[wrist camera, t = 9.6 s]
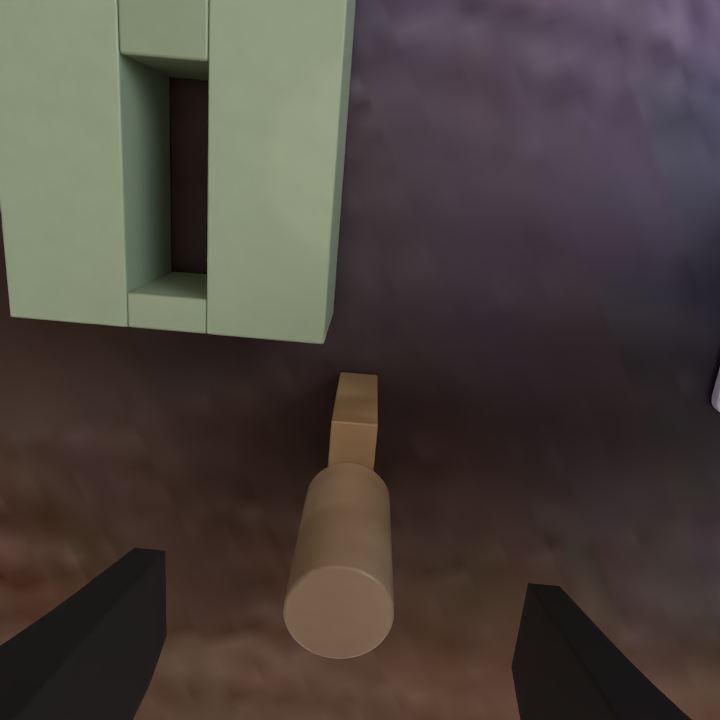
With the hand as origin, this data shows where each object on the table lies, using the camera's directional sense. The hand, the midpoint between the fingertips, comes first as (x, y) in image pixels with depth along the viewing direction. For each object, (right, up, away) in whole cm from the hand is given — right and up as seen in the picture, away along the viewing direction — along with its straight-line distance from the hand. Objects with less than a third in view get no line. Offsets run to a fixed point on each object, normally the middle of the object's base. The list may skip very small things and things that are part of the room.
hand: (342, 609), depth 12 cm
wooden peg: (0, +2, +8) cm, 8 cm away
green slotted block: (-4, +13, +5) cm, 15 cm away
